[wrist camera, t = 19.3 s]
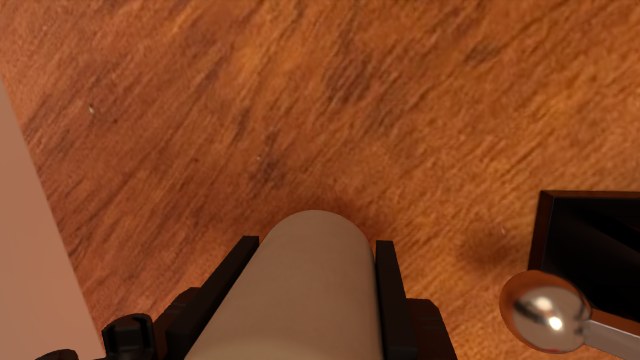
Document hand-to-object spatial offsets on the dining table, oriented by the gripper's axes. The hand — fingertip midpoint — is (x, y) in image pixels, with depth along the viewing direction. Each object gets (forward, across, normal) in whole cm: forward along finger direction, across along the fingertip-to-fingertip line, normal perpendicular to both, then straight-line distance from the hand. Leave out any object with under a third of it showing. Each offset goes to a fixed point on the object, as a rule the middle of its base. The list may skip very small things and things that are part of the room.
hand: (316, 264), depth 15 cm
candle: (+1, 0, 0) cm, 1 cm away
